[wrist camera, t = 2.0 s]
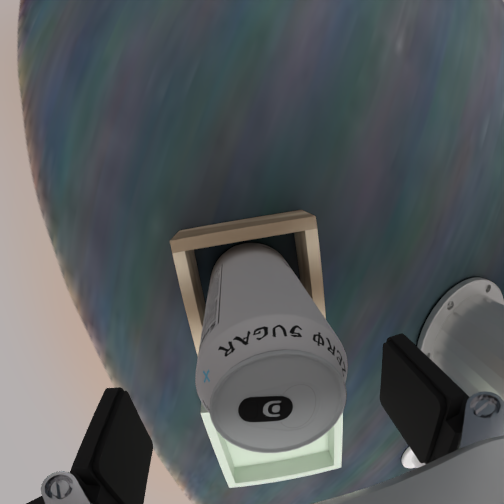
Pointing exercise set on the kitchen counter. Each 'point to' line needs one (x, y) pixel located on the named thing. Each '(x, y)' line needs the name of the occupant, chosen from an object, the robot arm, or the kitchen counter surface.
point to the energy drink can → (267, 355)
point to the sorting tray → (275, 458)
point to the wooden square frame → (242, 231)
